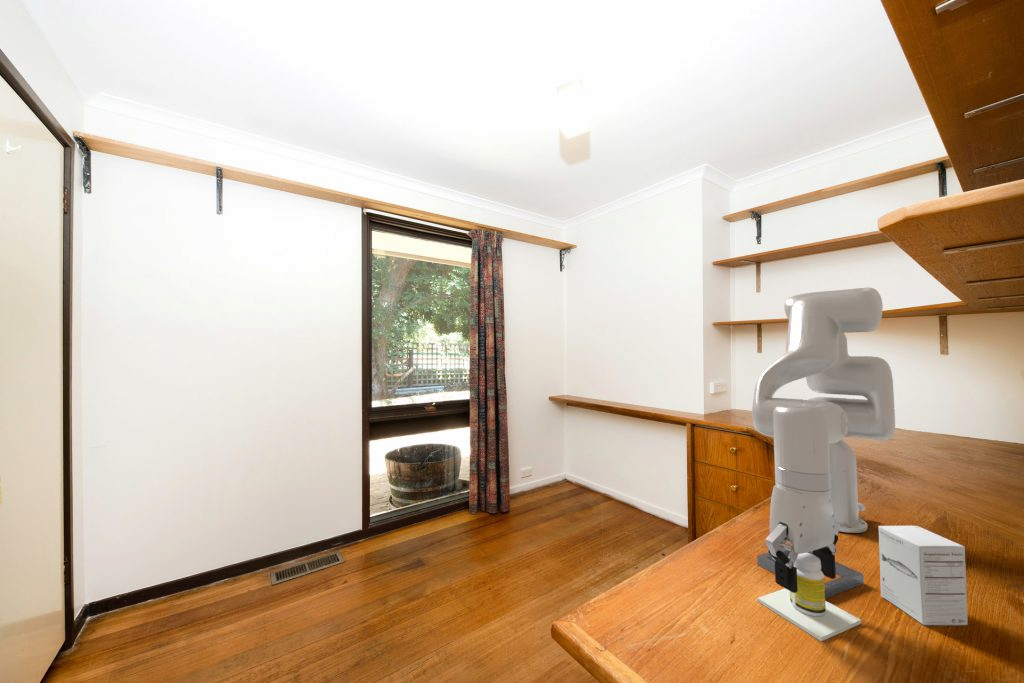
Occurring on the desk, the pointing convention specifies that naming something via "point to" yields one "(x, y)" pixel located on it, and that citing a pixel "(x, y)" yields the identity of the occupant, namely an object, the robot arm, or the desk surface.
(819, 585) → the supplement bottle
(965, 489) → the desk surface
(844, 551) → the desk surface
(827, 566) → the robot arm
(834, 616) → the mat
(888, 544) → the supplement box
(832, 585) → the frame
